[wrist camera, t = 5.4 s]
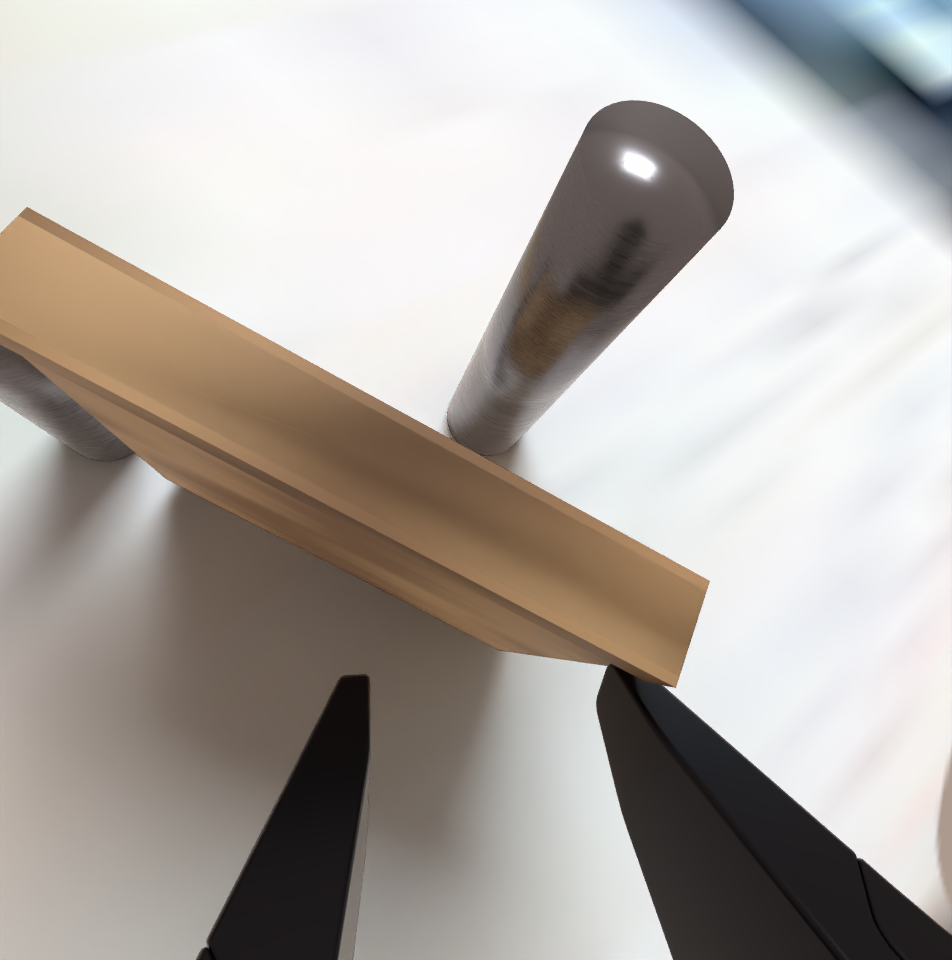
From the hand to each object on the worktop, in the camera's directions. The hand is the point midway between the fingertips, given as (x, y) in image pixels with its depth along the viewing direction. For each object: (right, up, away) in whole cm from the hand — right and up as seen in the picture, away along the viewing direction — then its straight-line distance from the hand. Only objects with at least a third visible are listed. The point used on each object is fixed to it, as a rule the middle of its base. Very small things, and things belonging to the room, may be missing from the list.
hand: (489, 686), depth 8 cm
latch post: (0, +5, +9) cm, 10 cm away
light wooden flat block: (-4, +1, +6) cm, 8 cm away
